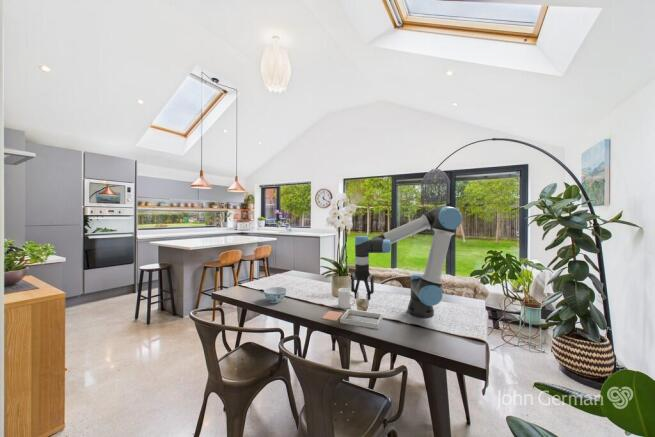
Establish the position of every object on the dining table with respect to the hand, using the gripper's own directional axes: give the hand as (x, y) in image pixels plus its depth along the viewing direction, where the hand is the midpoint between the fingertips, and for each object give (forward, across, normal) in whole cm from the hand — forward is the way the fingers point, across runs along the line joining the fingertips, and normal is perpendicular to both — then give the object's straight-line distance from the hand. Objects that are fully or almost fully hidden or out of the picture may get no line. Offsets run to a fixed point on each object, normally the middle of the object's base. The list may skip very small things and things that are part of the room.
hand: (362, 304), depth 152 cm
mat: (+9, +18, 0) cm, 20 cm away
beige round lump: (+2, 0, 0) cm, 2 cm away
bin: (+9, 0, 0) cm, 9 cm away
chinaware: (+8, +62, -9) cm, 64 cm away
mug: (+9, +14, -17) cm, 24 cm away
